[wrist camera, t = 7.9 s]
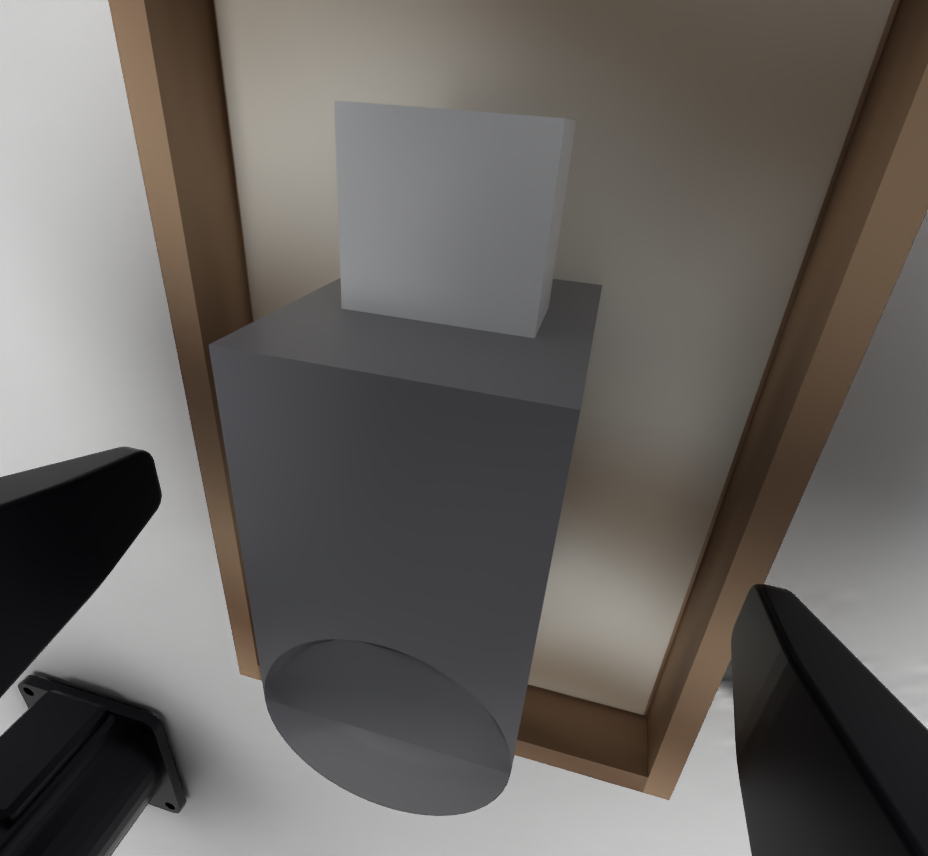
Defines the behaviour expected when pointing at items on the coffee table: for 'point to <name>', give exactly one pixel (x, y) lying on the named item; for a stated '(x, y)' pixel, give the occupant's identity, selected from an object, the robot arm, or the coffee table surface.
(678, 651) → the tray
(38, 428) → the coffee table surface
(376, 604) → the plug
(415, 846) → the coffee table surface
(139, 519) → the robot arm
